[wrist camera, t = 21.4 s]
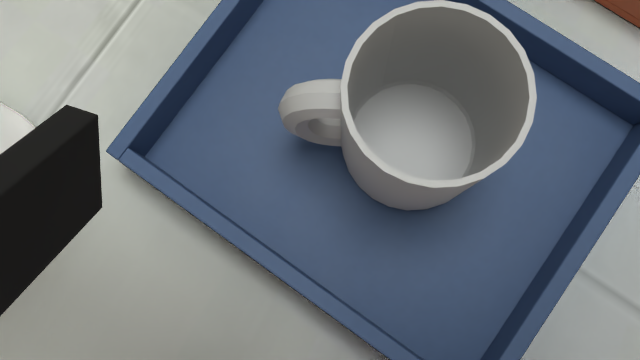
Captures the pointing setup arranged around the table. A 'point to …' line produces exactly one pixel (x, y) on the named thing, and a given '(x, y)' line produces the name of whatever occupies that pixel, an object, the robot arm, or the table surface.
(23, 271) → the robot arm
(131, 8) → the table surface
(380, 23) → the cup
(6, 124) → the torso sculpture
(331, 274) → the blue tray
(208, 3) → the table surface
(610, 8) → the terracotta tray
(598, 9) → the table surface
